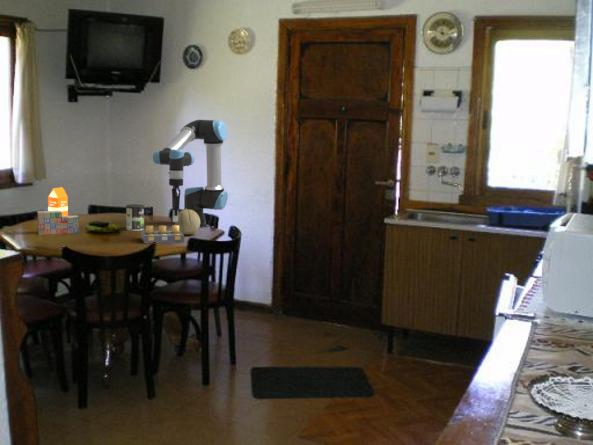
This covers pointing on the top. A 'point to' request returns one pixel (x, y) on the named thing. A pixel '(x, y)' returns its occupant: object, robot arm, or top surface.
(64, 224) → the stack of blocks
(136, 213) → the coffee can
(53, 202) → the orange juice
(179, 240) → the button board
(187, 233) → the cantaloupe
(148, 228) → the button
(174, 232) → the button
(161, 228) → the button mid
